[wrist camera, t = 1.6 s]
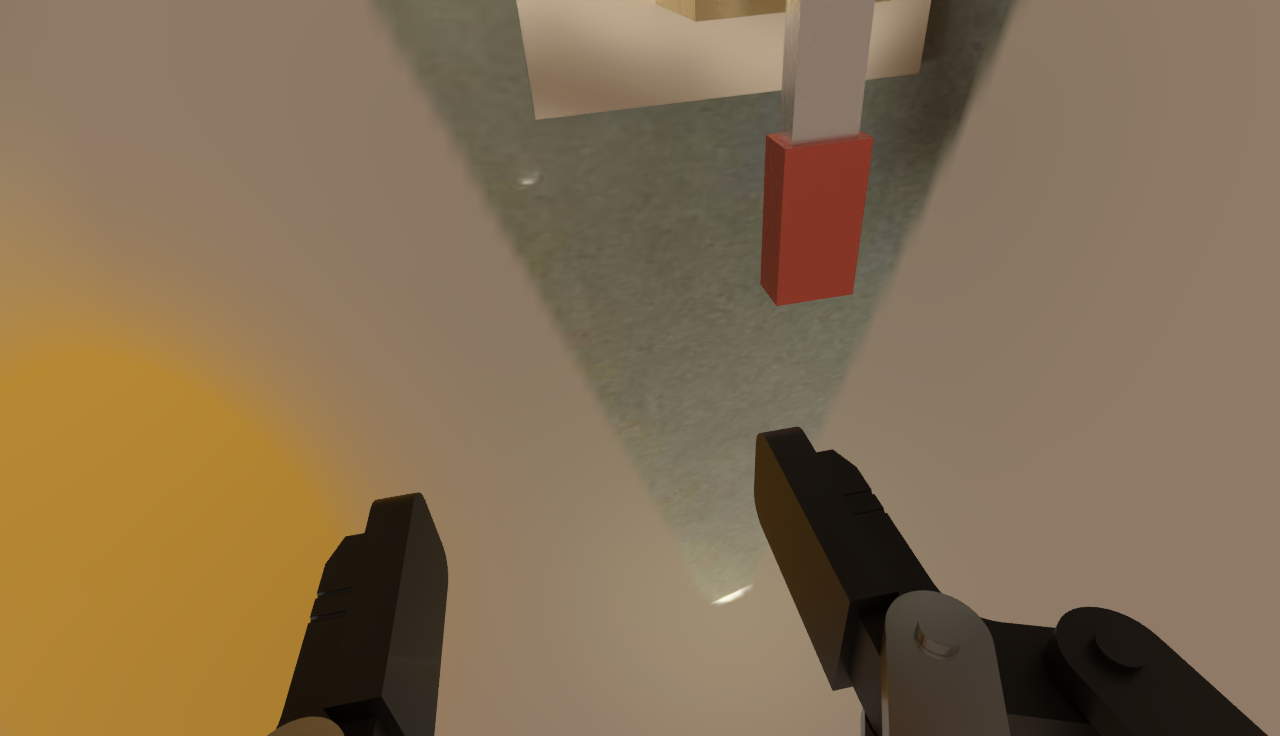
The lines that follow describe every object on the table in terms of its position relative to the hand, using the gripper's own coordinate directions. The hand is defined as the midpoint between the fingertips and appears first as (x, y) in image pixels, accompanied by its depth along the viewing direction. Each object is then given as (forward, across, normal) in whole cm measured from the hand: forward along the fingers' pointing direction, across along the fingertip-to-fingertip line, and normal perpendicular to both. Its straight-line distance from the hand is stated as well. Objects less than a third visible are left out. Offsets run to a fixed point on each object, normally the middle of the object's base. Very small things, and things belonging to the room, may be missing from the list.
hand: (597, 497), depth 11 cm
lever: (+10, -8, -4) cm, 14 cm away
